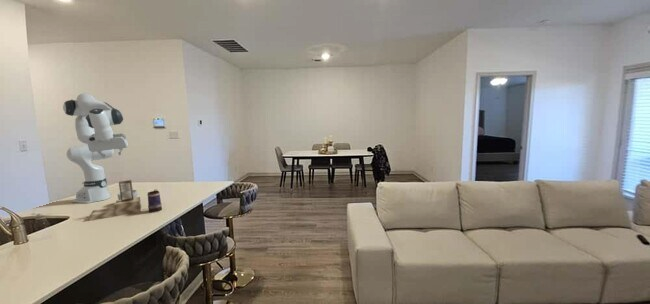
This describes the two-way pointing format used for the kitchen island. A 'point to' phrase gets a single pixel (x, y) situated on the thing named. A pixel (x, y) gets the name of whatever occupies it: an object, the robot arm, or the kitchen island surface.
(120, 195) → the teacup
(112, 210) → the stand
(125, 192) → the frame
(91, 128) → the robot arm
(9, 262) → the kitchen island surface
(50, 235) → the kitchen island surface
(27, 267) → the kitchen island surface
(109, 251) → the kitchen island surface
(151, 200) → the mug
